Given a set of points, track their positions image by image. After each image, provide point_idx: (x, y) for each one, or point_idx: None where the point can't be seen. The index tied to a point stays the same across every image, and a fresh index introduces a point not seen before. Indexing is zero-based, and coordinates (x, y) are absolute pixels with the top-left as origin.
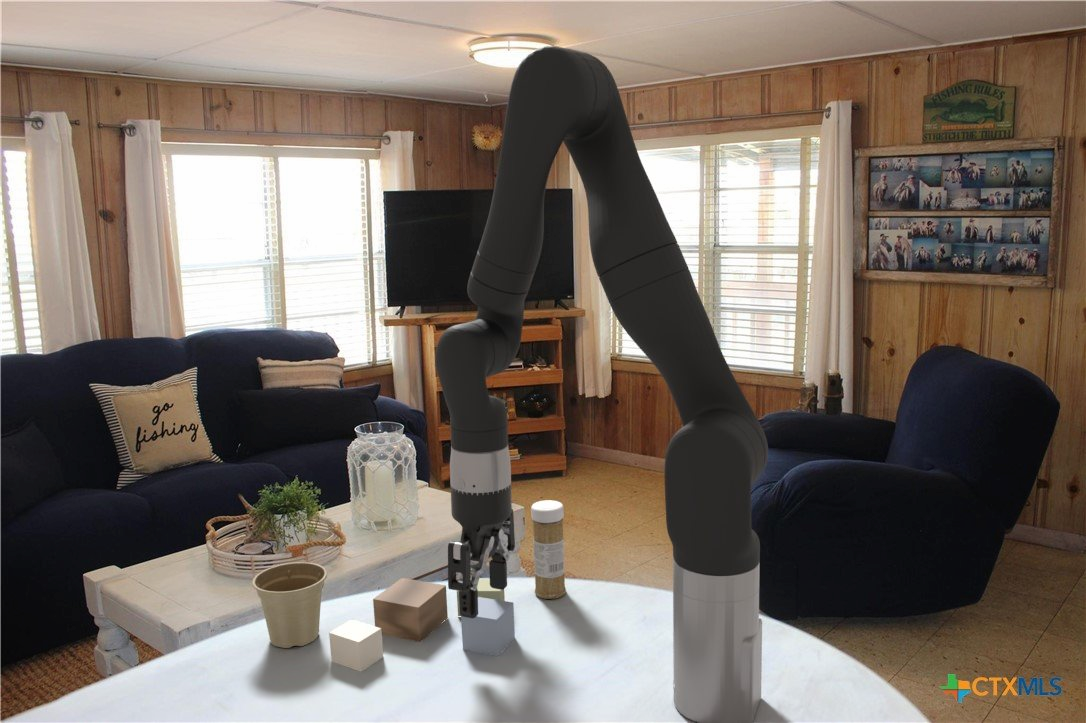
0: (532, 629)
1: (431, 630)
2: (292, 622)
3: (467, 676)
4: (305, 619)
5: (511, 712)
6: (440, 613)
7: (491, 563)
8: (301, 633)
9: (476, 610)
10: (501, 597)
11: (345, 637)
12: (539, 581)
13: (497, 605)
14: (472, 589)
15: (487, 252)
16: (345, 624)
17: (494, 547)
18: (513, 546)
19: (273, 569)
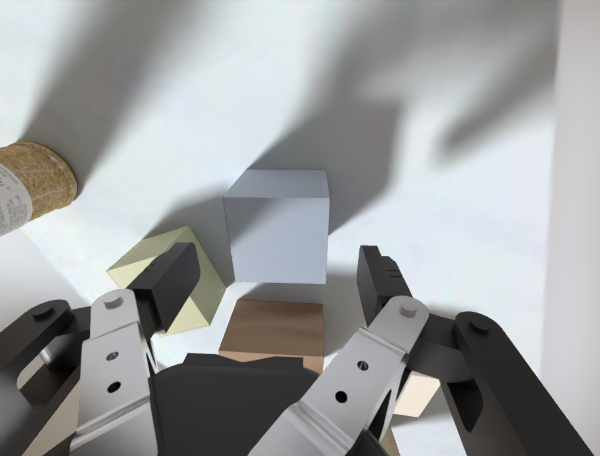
0: (199, 147)
1: (288, 305)
2: (397, 454)
3: (412, 193)
4: (384, 447)
5: (550, 36)
6: (255, 315)
7: (166, 322)
8: None
9: (375, 253)
10: (162, 246)
11: (430, 397)
12: (44, 201)
13: (255, 227)
14: (423, 306)
15: None
16: None
17: (189, 386)
18: (43, 312)
19: None
